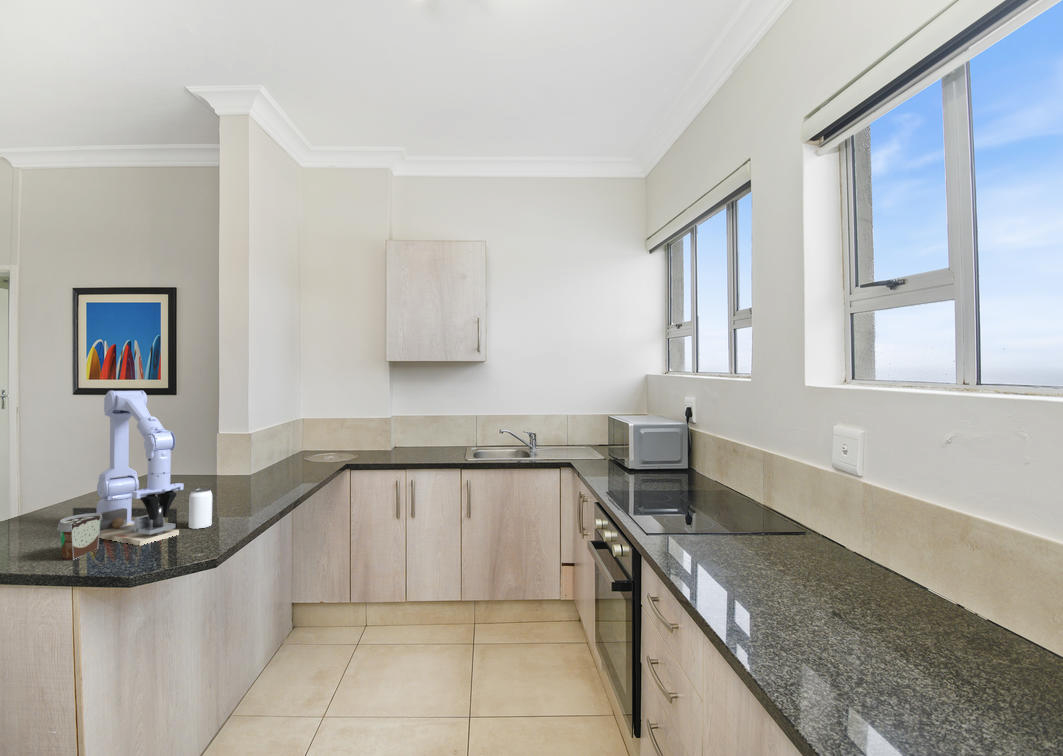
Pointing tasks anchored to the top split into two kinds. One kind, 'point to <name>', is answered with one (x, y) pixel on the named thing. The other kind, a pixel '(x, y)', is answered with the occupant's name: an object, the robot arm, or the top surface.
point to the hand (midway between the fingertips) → (158, 518)
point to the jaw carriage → (152, 523)
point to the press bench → (127, 529)
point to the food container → (79, 534)
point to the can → (200, 508)
